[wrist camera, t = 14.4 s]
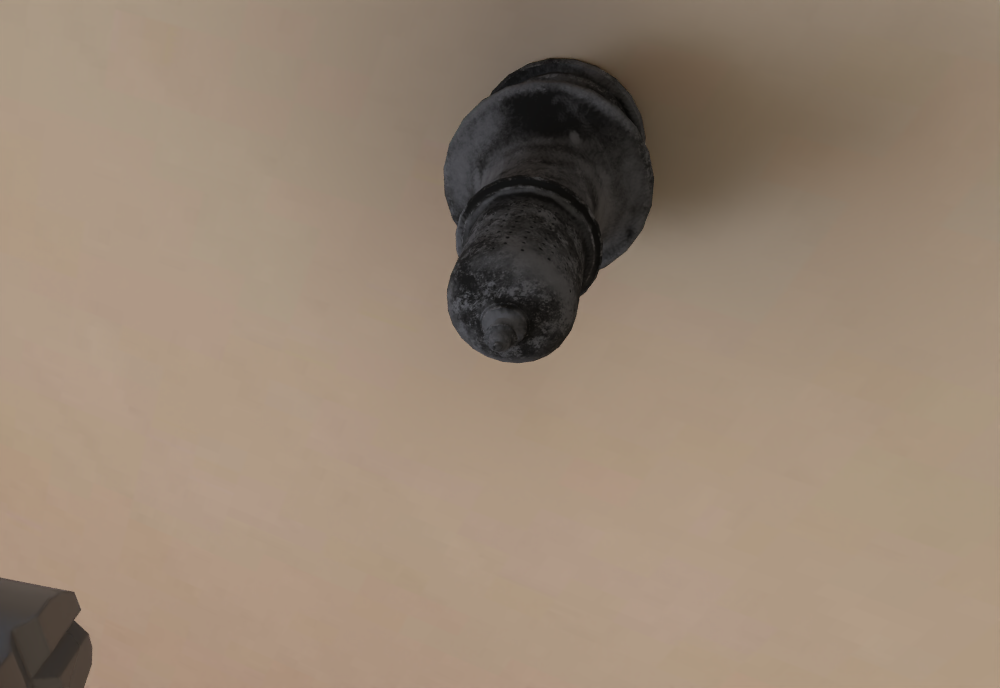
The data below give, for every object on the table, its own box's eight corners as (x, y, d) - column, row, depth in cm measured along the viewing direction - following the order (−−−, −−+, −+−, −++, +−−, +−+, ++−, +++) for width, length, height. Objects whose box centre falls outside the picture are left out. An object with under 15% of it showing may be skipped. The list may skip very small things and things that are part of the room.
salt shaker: (540, 261, 29) (474, 502, 19) (430, 121, 27) (293, 309, 17) (692, 167, 27) (708, 389, 17) (583, 5, 25) (526, 146, 15)
